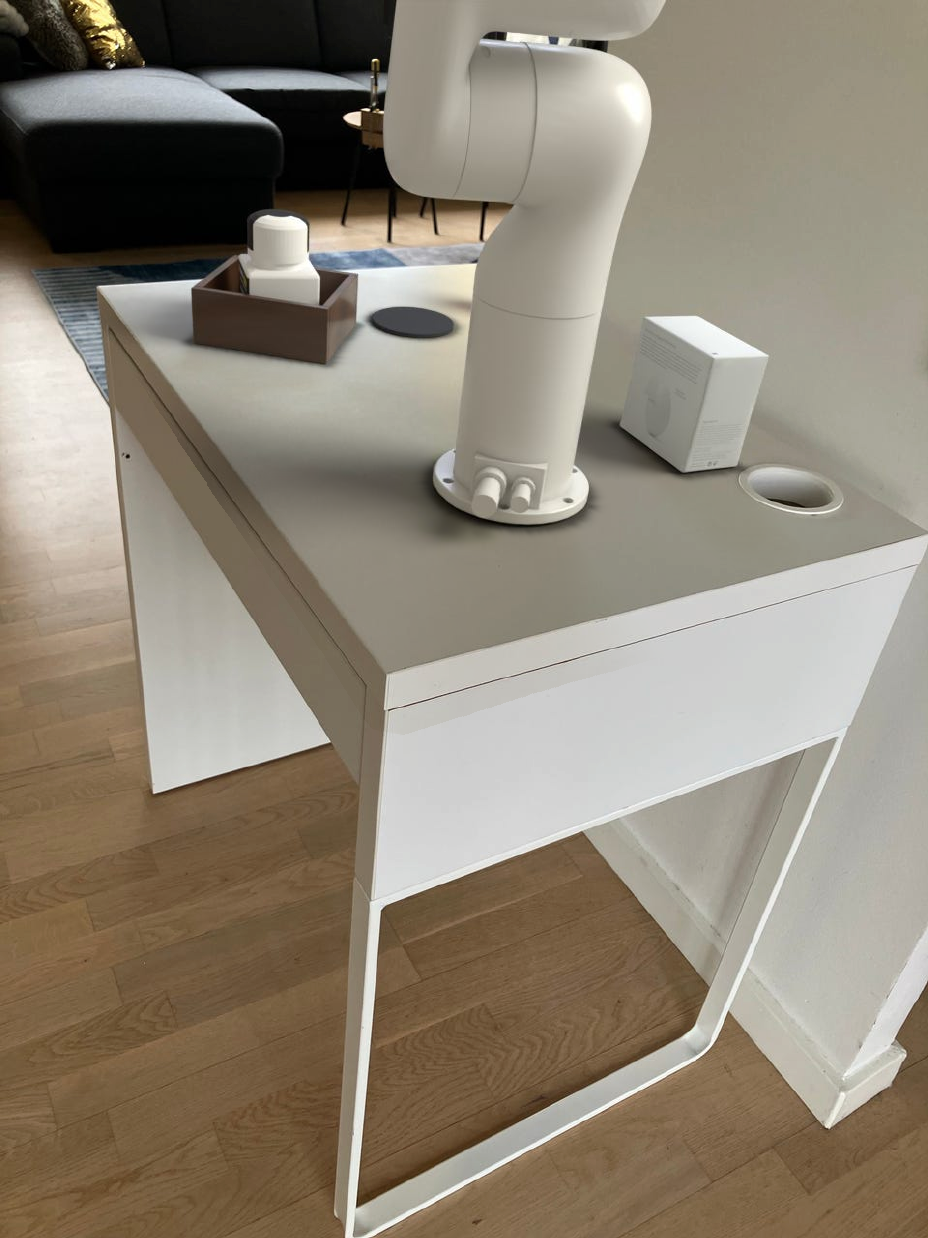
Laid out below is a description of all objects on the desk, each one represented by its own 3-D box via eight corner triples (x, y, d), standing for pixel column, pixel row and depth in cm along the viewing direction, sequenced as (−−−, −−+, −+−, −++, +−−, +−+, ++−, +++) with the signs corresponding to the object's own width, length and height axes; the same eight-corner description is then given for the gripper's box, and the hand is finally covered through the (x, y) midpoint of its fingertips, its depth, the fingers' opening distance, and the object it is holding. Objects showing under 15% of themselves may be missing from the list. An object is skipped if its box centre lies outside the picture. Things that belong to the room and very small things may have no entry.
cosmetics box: (740, 467, 92) (773, 353, 86) (682, 475, 89) (711, 358, 83) (673, 419, 99) (698, 311, 93) (617, 425, 97) (640, 315, 91)
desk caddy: (326, 364, 101) (327, 309, 98) (193, 343, 102) (190, 287, 99) (356, 324, 112) (358, 273, 109) (235, 305, 113) (234, 254, 110)
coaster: (446, 342, 110) (446, 339, 110) (364, 329, 111) (364, 326, 110) (459, 317, 118) (459, 313, 117) (382, 305, 118) (382, 301, 118)
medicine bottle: (239, 321, 109) (236, 202, 102) (306, 321, 111) (308, 205, 104) (248, 346, 103) (246, 222, 96) (318, 345, 105) (321, 224, 99)
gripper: (353, -198, 86) (345, 34, 96) (556, -174, 85) (527, 60, 94) (375, -189, 92) (365, 29, 102) (565, -166, 91) (537, 52, 101)
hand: (443, 43), depth 98 cm, fingers open, 9 cm apart
